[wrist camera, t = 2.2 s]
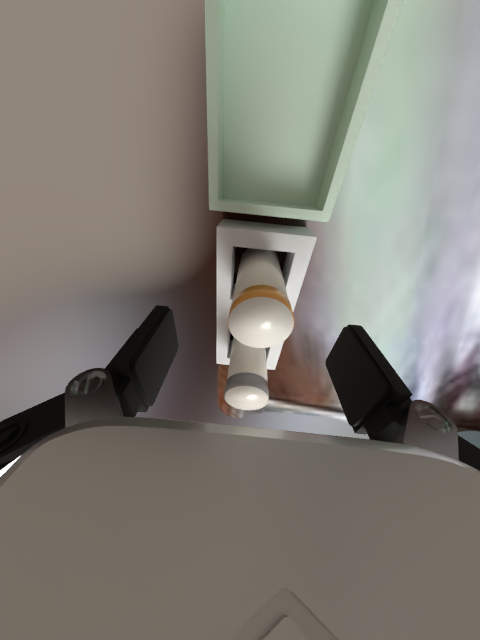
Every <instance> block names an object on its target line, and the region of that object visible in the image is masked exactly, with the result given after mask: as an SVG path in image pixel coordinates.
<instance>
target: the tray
mask: <svg viewBox="0 0 480 640" xmlns="http://www.w3.org/2000/svg"><path fill="white" fill-rule="evenodd" d="M204 2H205V5H204V6H205V50H206V94H207V135H208V136H207V137H208V138H207V139H208V184H209V210H215V211H224V212H234V213H244V214H254V215H263V216H273V217H283V218H293V219H303V220H312V221H322V222H329V219H330V216H331V213H332V210H333V207H334V204H335V201H336V198H337V195H338V192H339V189H340V186H341V183H342V180H343V177H344V174H345V172H346V169H347V166H348V163H349V160H350V157H351V154H352V151H353V148H354V145H355V142H356V139H357V136H358V133H359V130H360V127H361V124H362V121H363V118H364V115H365V112H366V109H367V106H368V103H369V101H370V98H371V95H372V92H373V89H374V86H375V83H376V80H377V77H378V74H379V71H380V68H381V65H382V62H383V59H384V56H385V53H386V50H387V47H388V44H389V41H390V38H391V35H392V33H393V30H394V27H395V24H396V21H397V18H398V15H399V12H400V9H401V6H402V3H403V0H204Z"/></svg>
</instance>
